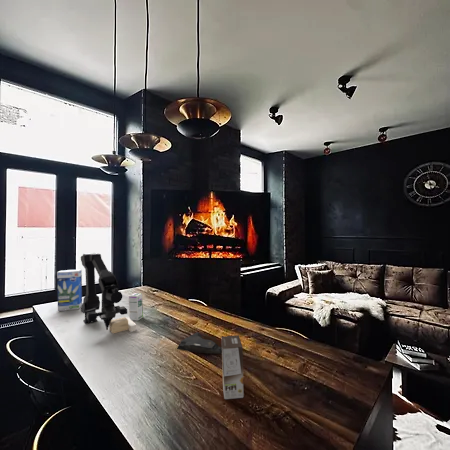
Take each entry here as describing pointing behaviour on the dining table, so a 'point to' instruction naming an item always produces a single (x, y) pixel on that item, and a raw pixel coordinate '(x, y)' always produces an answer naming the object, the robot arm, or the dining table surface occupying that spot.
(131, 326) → the plank
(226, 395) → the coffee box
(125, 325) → the oak block
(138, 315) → the syrup box
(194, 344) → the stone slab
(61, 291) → the string lights box
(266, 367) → the dining table surface
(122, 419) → the dining table surface
